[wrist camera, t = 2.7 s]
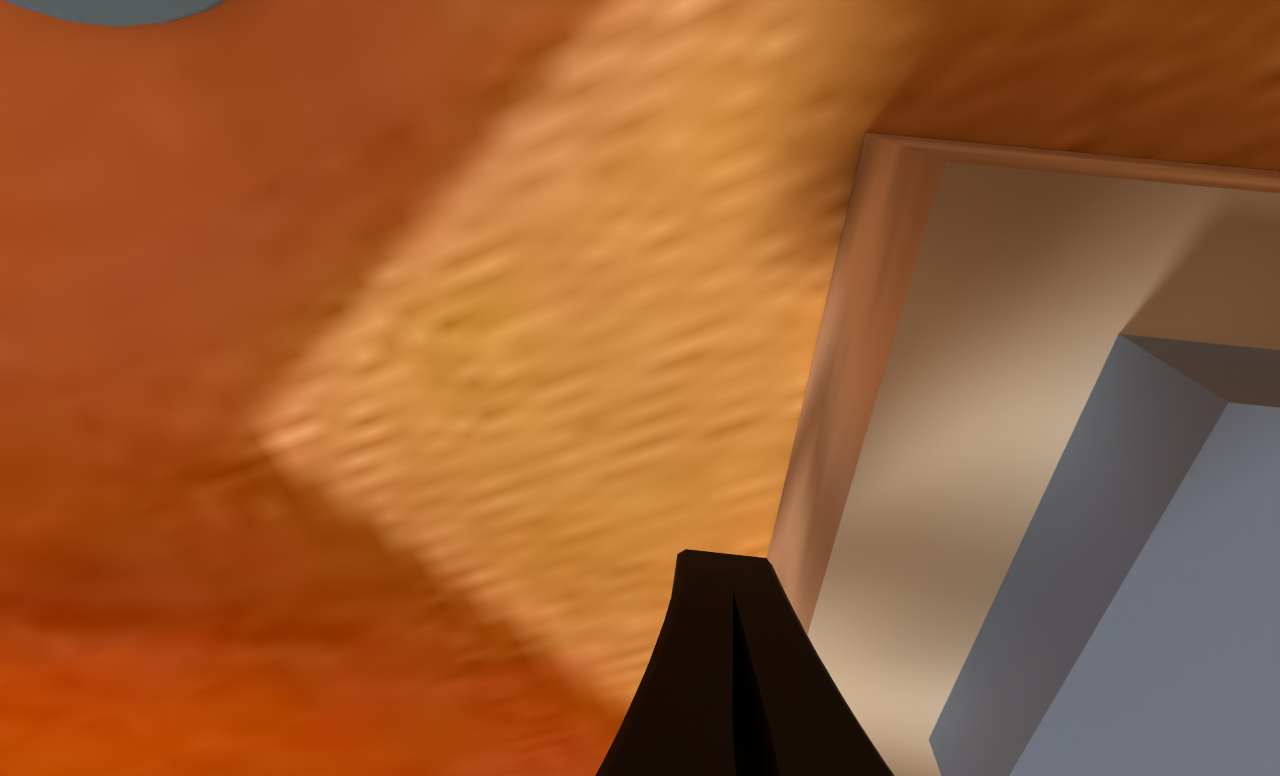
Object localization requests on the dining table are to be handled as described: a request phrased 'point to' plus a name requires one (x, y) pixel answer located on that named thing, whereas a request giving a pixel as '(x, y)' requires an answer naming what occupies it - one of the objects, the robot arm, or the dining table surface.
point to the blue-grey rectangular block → (1140, 585)
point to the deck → (983, 383)
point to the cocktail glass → (118, 10)
